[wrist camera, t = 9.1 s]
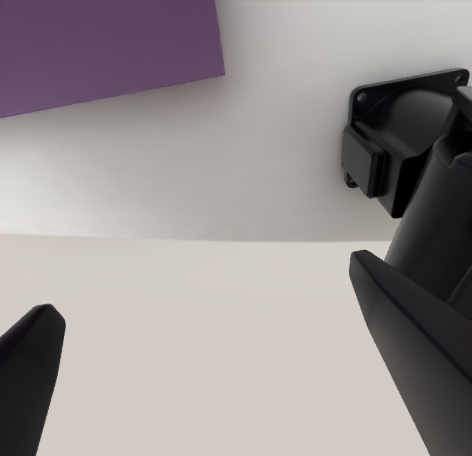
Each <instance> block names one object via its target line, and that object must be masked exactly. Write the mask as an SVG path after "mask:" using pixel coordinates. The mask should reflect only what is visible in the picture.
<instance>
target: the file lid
mask: <svg viewBox="0 0 472 456" xmlns="http://www.w3.org/2000/svg"><path fill="white" fill-rule="evenodd" d="M222 75H225V69H224V62H223V55H222V48H221V41H220V33H219V26H218V19H217V12H216V5H215V0H0V118H4V117H9V116H14V115H19V114H25V113H30V112H35V111H40V110H45V109H51V108H56V107H61V106H66V105H71V104H77V103H82V102H87V101H92V100H97V99H103V98H108V97H113V96H118V95H123V94H129V93H134V92H139V91H144V90H149V89H155V88H160V87H165V86H170V85H175V84H181V83H186V82H191V81H196V80H201V79H207V78H212V77H217V76H222Z"/></svg>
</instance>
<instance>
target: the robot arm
mask: <svg viewBox="0 0 472 456" xmlns="http://www.w3.org/2000/svg"><path fill="white" fill-rule="evenodd" d="M459 75H460V78H459V80H458V81H456V82H455V80H456V78H457V77H458V76H459ZM469 75H470V74H469V71H468V70H466V69H463V68H455V69H449V70H444V71H439V72H433V73H428V74H423V75H417V76H412V77H407V78H402V79H396V80H391V81H386V82H380V83H375V84H370V85H364V86H359V87H357V88H355V89H354V90H353V92H352V93H351V97H350V109H349V123H348V125H347V126H346V128H345V129H344V140H343V156H342V166H343V167H344V168H345V179H344V180H345V183H346V185H347V186H348V187H350V188H356V187H360V189H361V190H362V191H363V193H364V194H365V195H366V196H367V197H368V198H370V199H372V198H376V199H377V200H378V201H379V202H380V203H381V205H382V206H383V207H384V208H385V210H386V211H387V212H388V213H389V214H390V216H391V217H392V218H402V219H401V222H400V224H399V226H398V229H397V231H396V234H395V236H394V238H393V241H392V243H391V245H390V247H389V250H388V252H387V255H386V257H385V260H384V261H383V260H381V259H380V258H378V257H377V256H375V255H374V254H372V253H371V252H369V251H367V250H360V251H354V252H352V253H351V257H350V267H349V275H350V279H351V282H352V285H353V288H354V291H355V293H356V296H357V299H358V302H359V305H360V308H361V310H362V313H363V316H364V319H365V322H366V324H367V327H368V329H369V331H370V333H371V335H372V337H373V340H374V342H375V344H376V346H377V348H378V350H379V352H380V354H381V356H382V358H383V360H384V362H385V364H386V366H387V368H388V370H389V372H390V374H391V376H392V378H393V380H394V382H395V385H396V387H397V389H398V391H399V393H400V395H401V397H402V399H403V401H404V403H405V405H406V407H407V409H408V411H409V413H410V415H411V417H412V419H413V421H414V423H415V425H416V427H417V429H418V432H419V433H420V436H421V438H422V440H423V442H424V444H425V446H426V448H427V450H428V452H429V454H430V456H472V86H467V83H468V80H469ZM360 93H363V94H364V95H363V97H362V98H361V99H360V100H357V97H358V95H359V94H360ZM352 179H353V180H354V181H353V182H350V181H351V180H352ZM65 328H66V323H65V320H64V318H63V317H62V316H61V314H60V313H59V312H58V311H57V310H56V309H55V307H54V306H53V305H51V304H42V305H37V306H35V307H33V308H32V309H31V310H30V311H29V312H28V313H27V314H25V315H24V316H23V317H22V318H21V319H20V320H19V321H18V322H17V323H15V324H14V325H13V326H12V327H11V328H10V329H9V330H8V331H7V332H6V333H5V334H3V335H2V336H1V337H0V456H36V453H37V450H38V446H39V442H40V439H41V435H42V431H43V428H44V424H45V420H46V416H47V413H48V409H49V406H50V402H51V398H52V394H53V391H54V387H55V383H56V380H57V375H58V370H59V364H60V359H61V353H62V346H63V340H64V334H65Z"/></svg>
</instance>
